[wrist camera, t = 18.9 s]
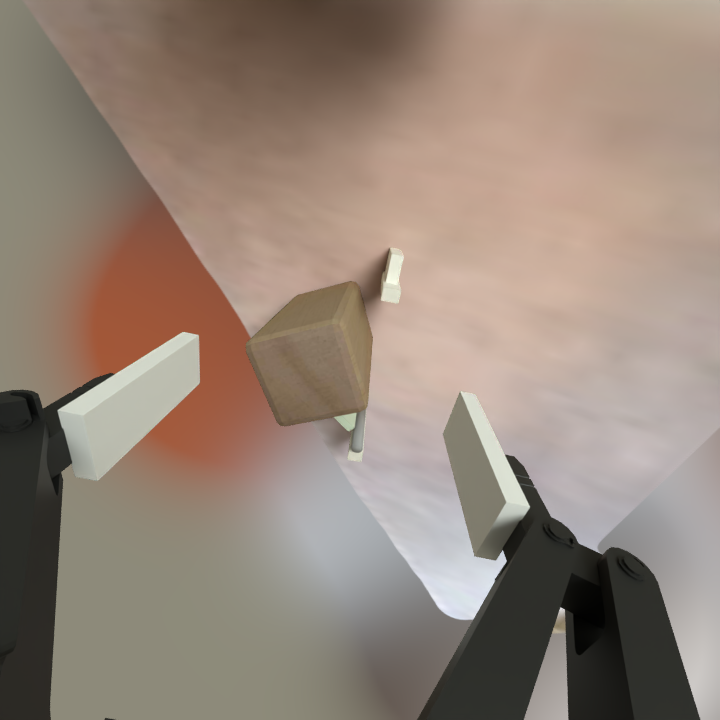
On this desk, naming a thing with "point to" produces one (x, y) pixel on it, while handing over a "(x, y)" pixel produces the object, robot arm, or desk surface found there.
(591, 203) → the desk surface
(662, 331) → the desk surface
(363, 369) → the wooden block
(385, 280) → the l-shaped block
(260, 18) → the desk surface
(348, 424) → the door
